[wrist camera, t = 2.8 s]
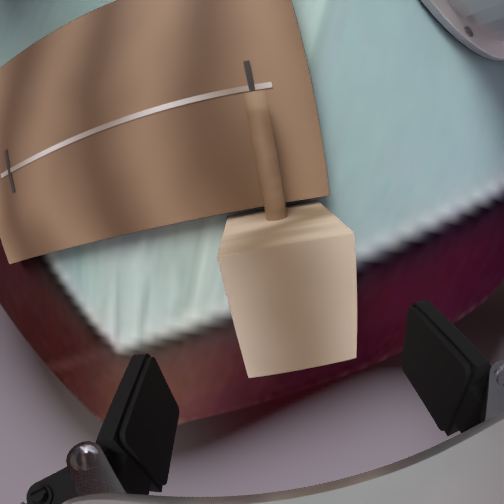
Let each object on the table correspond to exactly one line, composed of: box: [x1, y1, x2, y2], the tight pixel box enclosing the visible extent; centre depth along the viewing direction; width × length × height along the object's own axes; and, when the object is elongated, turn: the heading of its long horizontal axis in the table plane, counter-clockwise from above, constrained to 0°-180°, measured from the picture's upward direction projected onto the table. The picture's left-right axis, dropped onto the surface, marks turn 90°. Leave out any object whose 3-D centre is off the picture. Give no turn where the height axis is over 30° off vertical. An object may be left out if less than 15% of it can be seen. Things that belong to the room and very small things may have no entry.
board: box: [0, 0, 330, 264], centre depth 14 cm, size 22×14×1 cm, turn 100°
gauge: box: [217, 90, 357, 378], centre depth 13 cm, size 5×12×6 cm, turn 10°
